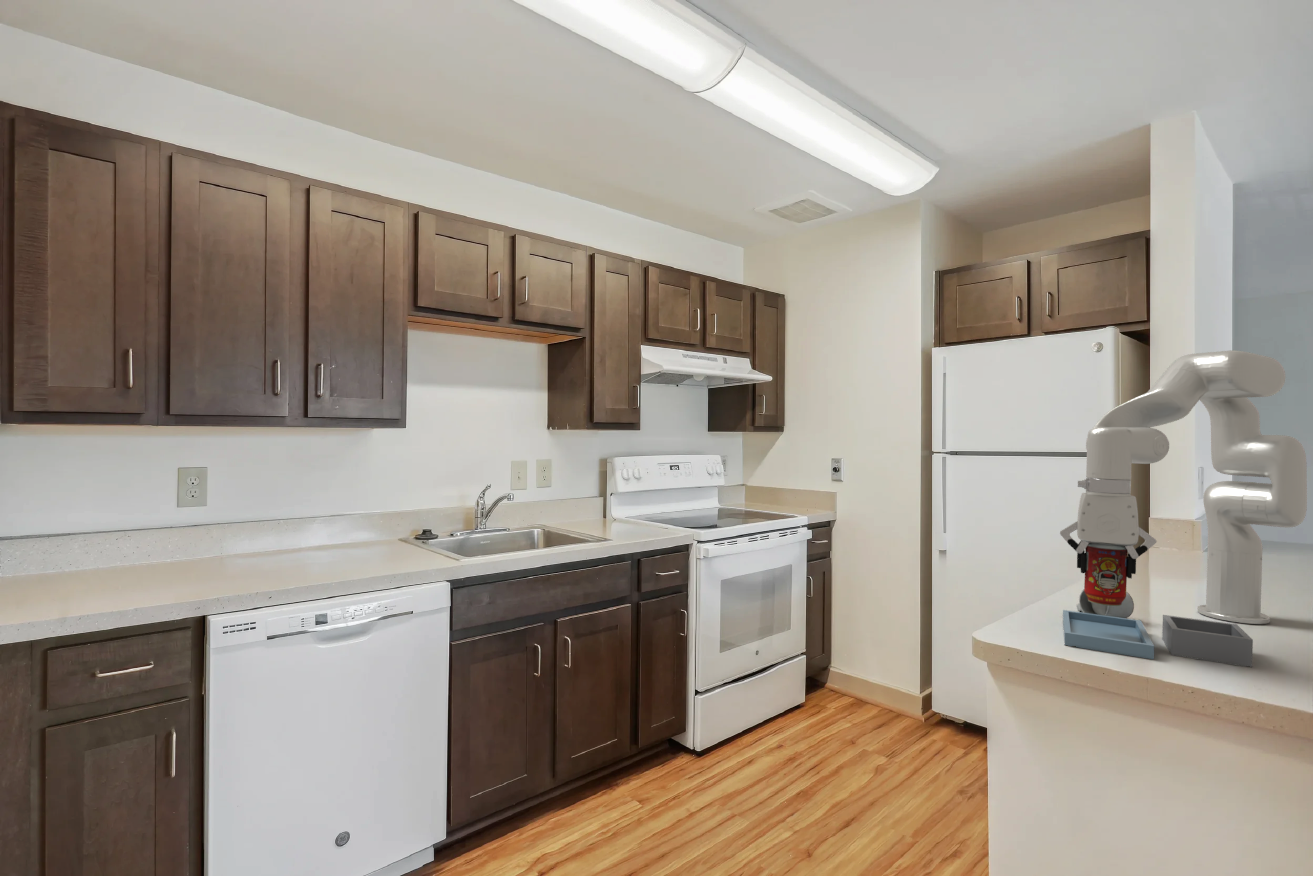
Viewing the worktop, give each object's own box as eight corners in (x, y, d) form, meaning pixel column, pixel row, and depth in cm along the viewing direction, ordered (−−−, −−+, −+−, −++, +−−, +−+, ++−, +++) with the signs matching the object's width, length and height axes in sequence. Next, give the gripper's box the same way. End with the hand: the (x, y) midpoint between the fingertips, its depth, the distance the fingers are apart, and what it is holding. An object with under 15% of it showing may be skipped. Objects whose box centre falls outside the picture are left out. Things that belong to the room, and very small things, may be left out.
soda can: (1090, 604, 130) (1092, 543, 130) (1079, 596, 136) (1081, 538, 136) (1131, 608, 127) (1133, 546, 127) (1118, 600, 134) (1120, 541, 134)
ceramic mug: (1137, 623, 144) (1137, 588, 144) (1108, 625, 142) (1108, 590, 142) (1094, 611, 154) (1094, 578, 154) (1066, 612, 152) (1066, 580, 152)
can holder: (1162, 639, 133) (1162, 614, 132) (1236, 649, 127) (1236, 624, 127) (1171, 654, 123) (1172, 628, 123) (1252, 667, 117) (1252, 639, 117)
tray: (1062, 621, 144) (1063, 610, 144) (1140, 632, 137) (1140, 620, 137) (1064, 645, 127) (1064, 632, 127) (1153, 659, 120) (1154, 646, 120)
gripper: (1058, 486, 133) (1055, 572, 133) (1164, 491, 124) (1161, 584, 124) (1057, 484, 140) (1055, 566, 140) (1158, 489, 131) (1156, 577, 131)
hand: (1105, 574), depth 132 cm, fingers closed on soda can, 7 cm apart
